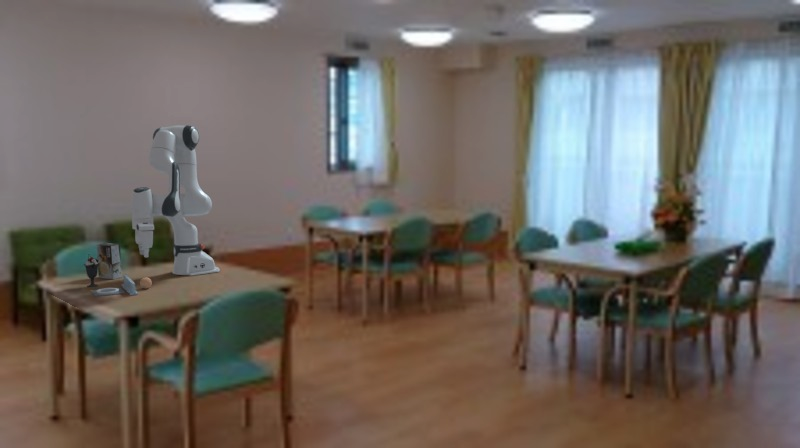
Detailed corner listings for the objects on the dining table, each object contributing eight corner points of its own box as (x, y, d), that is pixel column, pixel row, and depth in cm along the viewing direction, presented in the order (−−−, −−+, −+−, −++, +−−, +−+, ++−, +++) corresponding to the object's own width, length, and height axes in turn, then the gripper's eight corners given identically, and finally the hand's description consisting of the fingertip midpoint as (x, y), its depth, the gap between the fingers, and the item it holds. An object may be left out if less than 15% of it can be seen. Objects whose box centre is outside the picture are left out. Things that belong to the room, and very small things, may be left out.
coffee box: (122, 277, 364) (121, 243, 362) (113, 279, 358) (111, 245, 356) (107, 275, 367) (105, 242, 365) (97, 278, 361) (96, 244, 359)
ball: (150, 286, 341) (150, 275, 341) (153, 289, 337) (152, 277, 336) (139, 288, 339) (138, 277, 338) (141, 290, 334) (140, 279, 334)
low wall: (128, 285, 345) (128, 274, 344) (137, 294, 326) (137, 283, 325) (121, 286, 343) (121, 275, 343) (130, 295, 324) (130, 283, 324)
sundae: (85, 288, 338) (83, 255, 337) (84, 285, 344) (82, 252, 342) (101, 286, 341) (99, 253, 340) (99, 284, 347) (98, 251, 345)
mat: (120, 288, 338) (120, 286, 338) (124, 293, 328) (124, 291, 328) (91, 291, 332) (91, 289, 332) (95, 296, 322) (95, 294, 322)
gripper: (131, 222, 342) (132, 253, 343) (139, 227, 324) (141, 259, 325) (145, 222, 345) (146, 252, 346) (155, 226, 327) (156, 258, 328)
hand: (144, 255), depth 336 cm, fingers open, 8 cm apart
